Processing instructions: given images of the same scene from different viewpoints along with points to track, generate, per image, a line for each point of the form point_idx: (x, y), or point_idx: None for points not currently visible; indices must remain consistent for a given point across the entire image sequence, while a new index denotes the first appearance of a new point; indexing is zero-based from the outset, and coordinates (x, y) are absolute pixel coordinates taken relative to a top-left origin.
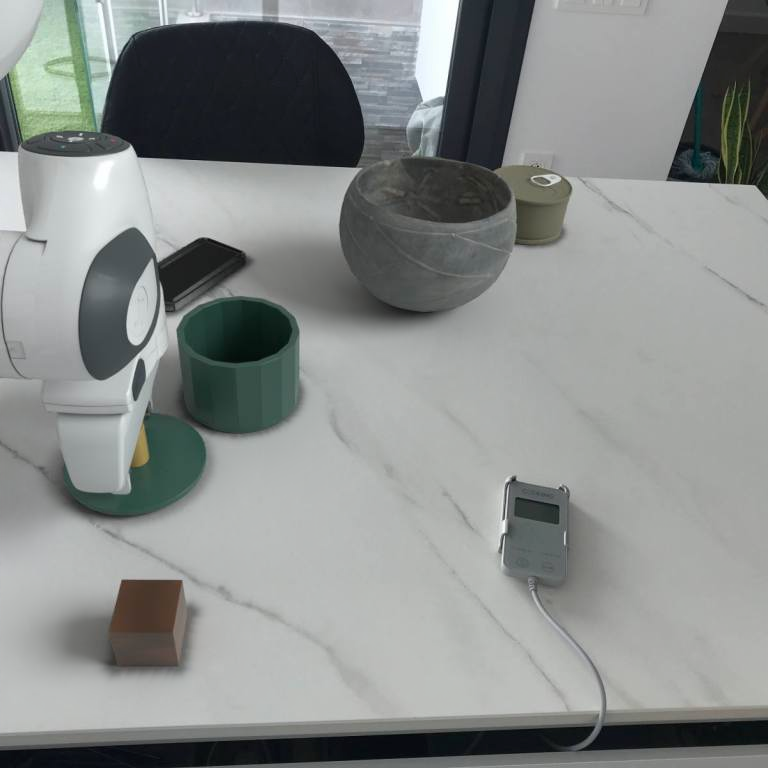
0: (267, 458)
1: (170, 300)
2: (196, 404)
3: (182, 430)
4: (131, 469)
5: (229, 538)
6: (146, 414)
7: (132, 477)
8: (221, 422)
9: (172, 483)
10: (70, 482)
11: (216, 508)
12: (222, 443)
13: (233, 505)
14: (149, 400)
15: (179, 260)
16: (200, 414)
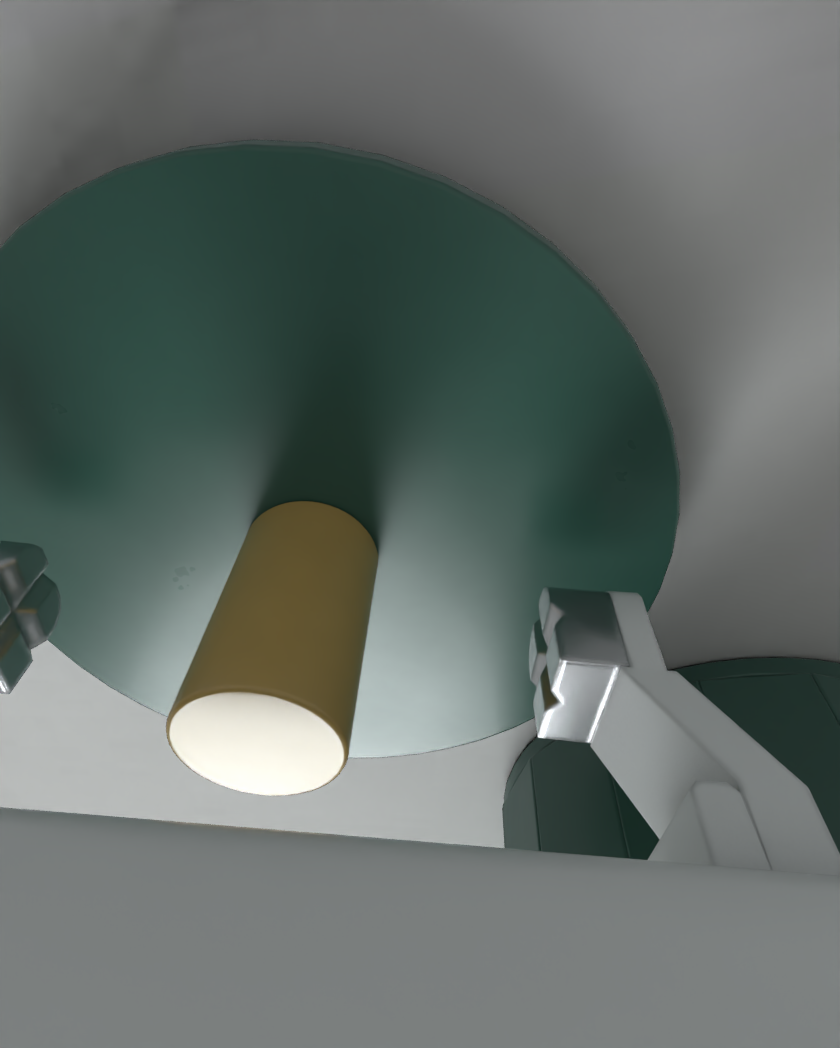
0: (381, 830)
1: None
2: (606, 794)
3: (497, 700)
4: (7, 690)
5: (41, 755)
6: (538, 671)
7: (32, 645)
8: (524, 798)
9: (176, 678)
10: (64, 236)
11: (150, 733)
12: (459, 750)
13: (173, 766)
14: (594, 745)
15: None
16: (584, 754)
